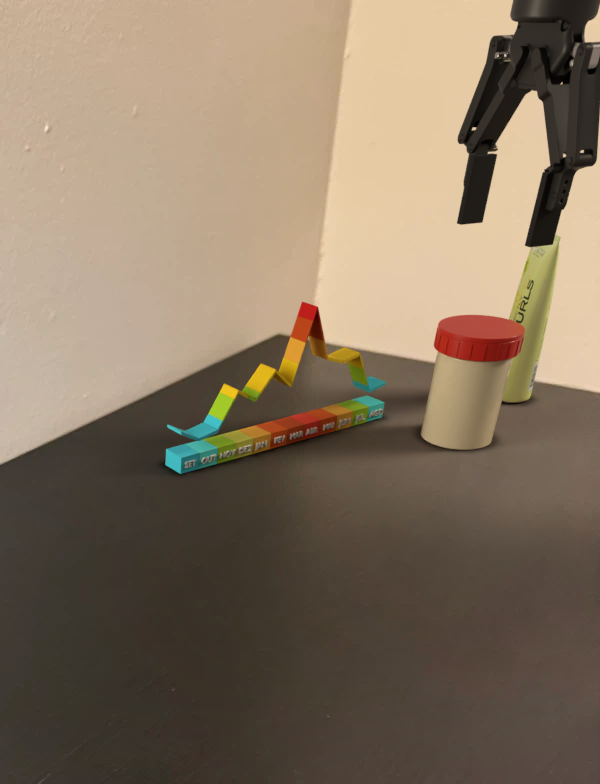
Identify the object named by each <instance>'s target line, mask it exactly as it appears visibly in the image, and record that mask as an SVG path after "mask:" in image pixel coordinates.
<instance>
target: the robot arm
mask: <svg viewBox="0 0 600 784" xmlns="http://www.w3.org/2000/svg"><path fill="white" fill-rule="evenodd" d="M599 10H600V0H512V3H511V9H510V15H509V17H510V19H511V20H512V22H515V23H517V26H516V29H515V31H514V33H513V34H500V35H493V36H492V37H491V38H490V41H489V44H488V49H487V55H486V60H485V64H484V67H483V69H482V72H481V75H480V78H479V79H478V83H477V85H476V88H475V90H474V93H473V96H472V98H471V101H470V103H469V106H468V109H467V111H466V114H465V116H464V119H463V120H462V121H463V122H462V125H461V126H460V129H459V132H458V134H457V144H459V145H464V146H465V147H466V148H465V149H466V153H467V154H468V157H467V163H466V166H465V171H464V177H463V191H462V196H461V201H460V205H459V210H458V215H457V220H456V224H458V225H460V226H463V225H472V224H482V223H483V222H484V217H485V213H486V208H487V204H488V200H489V194H490V191H491V186H492V181H493V177H494V173H495V166H496V162H497V157H498V154H497V153H495V152H497V151H498V150H499V148H498V145H497V142H498V141H499V139H500V137H501V136H502V134H503V133H504V131H505V129H506V128H507V126H508V124H509V123H510V121H511V119H512V118H513V116H514V115H515V113H516V111H517V109H518V107H520V104H521V103H522V101H523V99H524V98H525V96H526V95H527V94H530V93H531V92H532V91H533V92H536V94H537V98H538V100H540V101H541V102H542V106H543V116H544V122H545V131H546V142H547V149H548V157H549V166H547V167H546V168H544V169H543V171H542V174H541V177H540V182H539V186H538V190H537V193H536V197H535V201H534V207H533V211H532V215H531V219H530V222H529V227H528V231H527V233H526V234H527V235H526V238H525V243H524V246H525V247H528V248H531V247H537V246H546V245H553V242H554V238H555V234H556V235H557V229H558V226H559V222H560V218H561V215H562V211H564V210H565V208H566V206H567V204H568V201H569V196H570V193H571V190H572V189H571V188H572V185H573V182H574V178H575V175H576V173H577V172H579V170H582V169H585V168H589V167H593V166H594V165H596V163H597V160H598V149H599V148H598V146H599V134H600V133H599V132H600V41H587V42H586V40H585V34H586V33H585V31H586V26H587V24H588V22H590V21H593V20H594V19H595V18H596V17H597V16H598V13H599ZM474 128H475V129H474ZM581 151H583V152H581ZM564 155H565V156H564Z"/></svg>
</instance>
